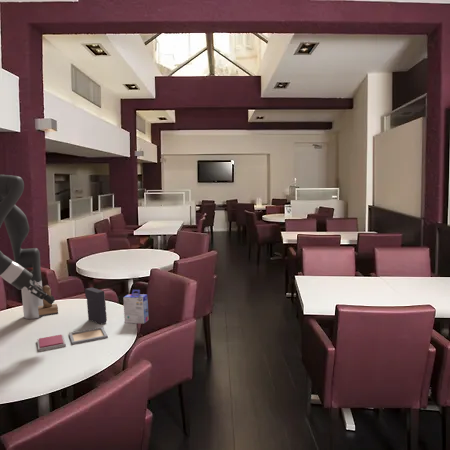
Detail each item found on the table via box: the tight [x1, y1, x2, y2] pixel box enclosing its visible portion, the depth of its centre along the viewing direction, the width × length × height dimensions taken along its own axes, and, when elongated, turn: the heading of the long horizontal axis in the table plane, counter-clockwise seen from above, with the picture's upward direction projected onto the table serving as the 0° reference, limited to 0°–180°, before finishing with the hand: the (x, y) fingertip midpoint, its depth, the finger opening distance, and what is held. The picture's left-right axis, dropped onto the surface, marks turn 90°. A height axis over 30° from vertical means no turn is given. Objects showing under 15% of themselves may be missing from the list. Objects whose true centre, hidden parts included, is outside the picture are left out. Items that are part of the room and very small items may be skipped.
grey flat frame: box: [68, 326, 108, 345], centre depth 181 cm, size 12×14×1 cm
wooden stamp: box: [38, 284, 59, 318], centre depth 172 cm, size 5×7×12 cm
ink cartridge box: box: [122, 289, 150, 325], centre depth 196 cm, size 10×6×14 cm, turn 78°
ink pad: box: [36, 334, 67, 352], centre depth 174 cm, size 11×10×2 cm
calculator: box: [84, 286, 108, 325], centre depth 199 cm, size 11×4×15 cm, turn 47°
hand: (52, 300), depth 173 cm, fingers closed on wooden stamp, 3 cm apart
